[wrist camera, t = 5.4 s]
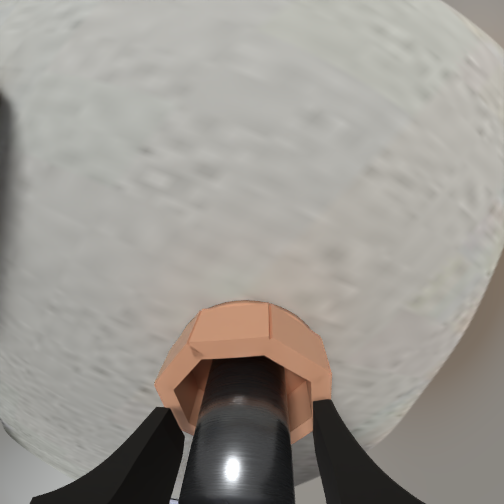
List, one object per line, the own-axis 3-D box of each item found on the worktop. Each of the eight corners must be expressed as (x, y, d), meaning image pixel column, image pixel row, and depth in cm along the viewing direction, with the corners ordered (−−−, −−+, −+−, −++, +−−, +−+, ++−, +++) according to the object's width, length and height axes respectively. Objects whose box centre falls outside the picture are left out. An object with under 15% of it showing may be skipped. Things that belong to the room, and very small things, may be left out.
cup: (320, 402, 14) (328, 442, 11) (197, 410, 14) (187, 449, 12) (317, 290, 12) (332, 327, 9) (160, 307, 12) (136, 343, 10)
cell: (286, 391, 13) (296, 537, 5) (218, 395, 13) (193, 535, 6) (281, 337, 12) (296, 511, 4) (204, 343, 12) (156, 504, 5)
